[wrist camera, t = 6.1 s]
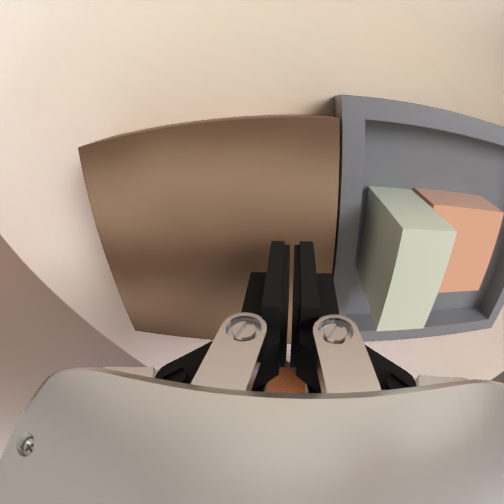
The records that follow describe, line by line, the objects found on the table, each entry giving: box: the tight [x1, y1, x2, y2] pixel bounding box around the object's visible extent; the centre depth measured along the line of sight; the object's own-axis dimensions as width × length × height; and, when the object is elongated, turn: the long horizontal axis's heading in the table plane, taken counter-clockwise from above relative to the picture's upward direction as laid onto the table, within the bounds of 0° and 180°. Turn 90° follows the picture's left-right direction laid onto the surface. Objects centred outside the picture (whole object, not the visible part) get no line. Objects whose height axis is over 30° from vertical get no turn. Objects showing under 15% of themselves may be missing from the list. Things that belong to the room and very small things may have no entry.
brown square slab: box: [78, 115, 340, 344], centre depth 14 cm, size 12×12×3 cm
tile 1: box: [414, 188, 504, 293], centre depth 12 cm, size 5×5×2 cm
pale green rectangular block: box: [358, 186, 457, 331], centre depth 12 cm, size 5×5×2 cm
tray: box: [332, 95, 504, 342], centre depth 13 cm, size 14×14×2 cm
